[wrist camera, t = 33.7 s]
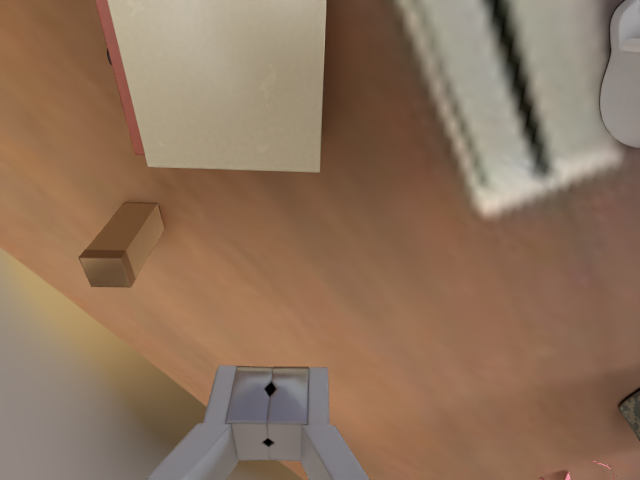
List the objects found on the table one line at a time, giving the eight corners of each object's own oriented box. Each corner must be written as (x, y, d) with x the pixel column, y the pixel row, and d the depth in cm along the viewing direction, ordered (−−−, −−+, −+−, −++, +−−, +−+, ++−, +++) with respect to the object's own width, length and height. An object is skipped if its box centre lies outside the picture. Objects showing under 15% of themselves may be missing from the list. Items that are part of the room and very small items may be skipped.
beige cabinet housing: (176, 133, 36) (147, 167, 30) (140, -62, 28) (89, -71, 22) (319, 137, 37) (319, 172, 31) (326, -54, 28) (328, -60, 22)
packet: (158, 203, 41) (120, 258, 33) (164, 229, 43) (131, 287, 35) (123, 202, 41) (78, 257, 33) (132, 229, 43) (91, 287, 35)
